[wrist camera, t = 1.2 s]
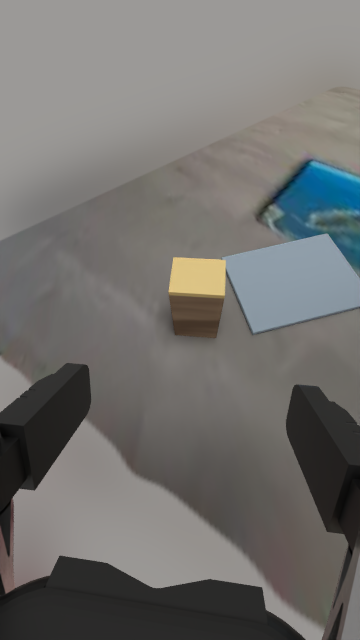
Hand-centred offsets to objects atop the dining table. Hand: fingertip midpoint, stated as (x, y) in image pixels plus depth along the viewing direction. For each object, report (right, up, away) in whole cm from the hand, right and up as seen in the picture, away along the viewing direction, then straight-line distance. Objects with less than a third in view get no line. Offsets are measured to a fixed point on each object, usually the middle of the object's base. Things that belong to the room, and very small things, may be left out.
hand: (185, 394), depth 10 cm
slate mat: (+15, +8, +24) cm, 29 cm away
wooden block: (+2, +3, +22) cm, 22 cm away
